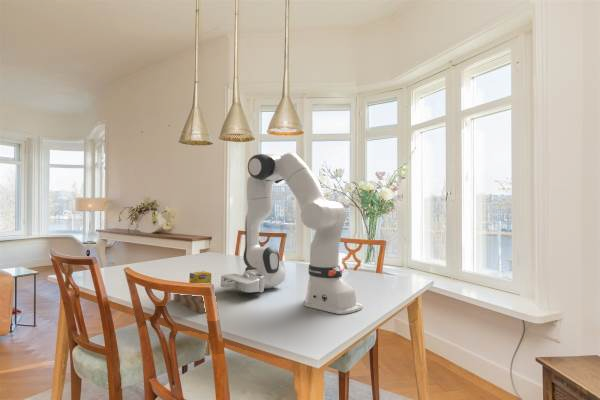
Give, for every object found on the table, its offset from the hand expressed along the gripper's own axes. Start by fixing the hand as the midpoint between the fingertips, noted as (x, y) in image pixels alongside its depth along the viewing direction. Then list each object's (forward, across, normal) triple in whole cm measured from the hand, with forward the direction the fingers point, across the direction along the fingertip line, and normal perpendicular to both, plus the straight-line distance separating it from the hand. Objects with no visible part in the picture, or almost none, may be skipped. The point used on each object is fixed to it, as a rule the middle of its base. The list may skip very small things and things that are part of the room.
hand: (222, 285), depth 136 cm
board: (+14, +2, +5) cm, 15 cm away
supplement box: (+9, 0, +5) cm, 11 cm away
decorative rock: (-36, -23, +5) cm, 43 cm away
